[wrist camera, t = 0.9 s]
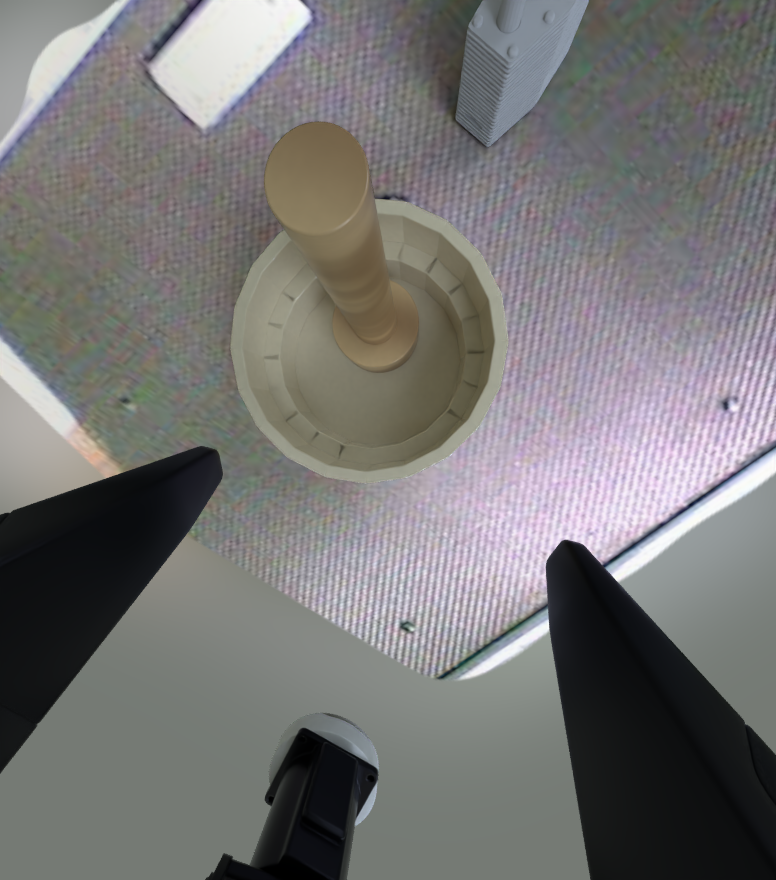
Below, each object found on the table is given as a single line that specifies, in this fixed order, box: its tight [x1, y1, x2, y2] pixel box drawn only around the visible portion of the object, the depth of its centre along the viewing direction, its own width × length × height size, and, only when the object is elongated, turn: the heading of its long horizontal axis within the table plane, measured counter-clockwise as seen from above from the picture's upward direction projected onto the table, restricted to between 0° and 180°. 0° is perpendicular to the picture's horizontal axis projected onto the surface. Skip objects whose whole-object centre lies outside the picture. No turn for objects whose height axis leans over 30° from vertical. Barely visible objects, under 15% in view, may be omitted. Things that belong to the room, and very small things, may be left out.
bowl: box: [230, 199, 508, 484], centre depth 19 cm, size 14×14×6 cm
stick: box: [264, 122, 419, 373], centre depth 14 cm, size 5×5×13 cm
